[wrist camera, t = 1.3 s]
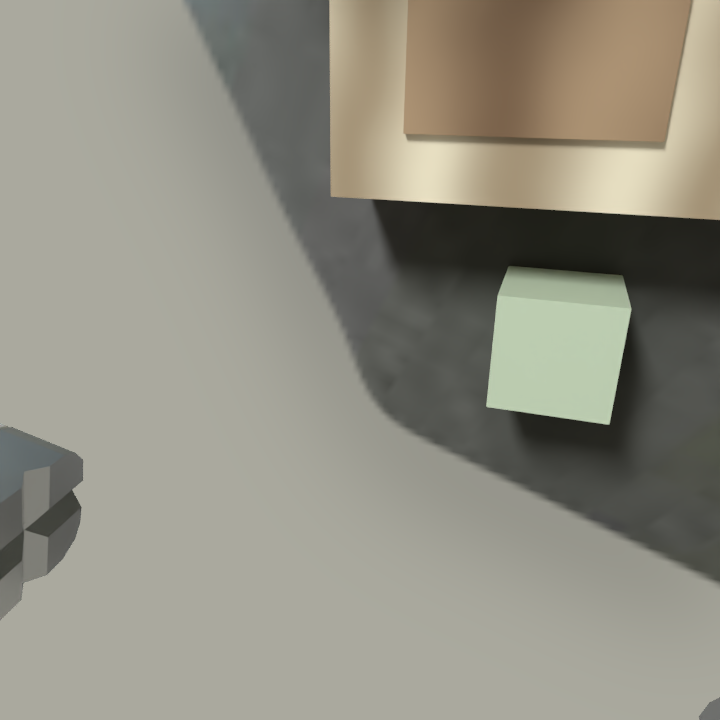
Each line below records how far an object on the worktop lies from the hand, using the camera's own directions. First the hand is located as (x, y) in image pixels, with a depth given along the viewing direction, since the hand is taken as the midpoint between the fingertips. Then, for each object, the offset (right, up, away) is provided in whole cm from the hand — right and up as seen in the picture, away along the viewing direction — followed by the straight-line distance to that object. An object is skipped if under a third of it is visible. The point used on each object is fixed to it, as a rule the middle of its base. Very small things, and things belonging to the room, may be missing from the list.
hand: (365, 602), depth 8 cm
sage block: (+9, +5, +22) cm, 24 cm away
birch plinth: (+7, +17, +17) cm, 26 cm away
